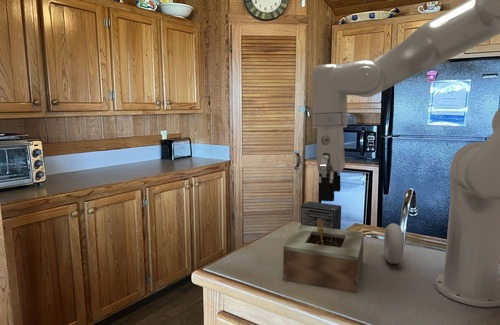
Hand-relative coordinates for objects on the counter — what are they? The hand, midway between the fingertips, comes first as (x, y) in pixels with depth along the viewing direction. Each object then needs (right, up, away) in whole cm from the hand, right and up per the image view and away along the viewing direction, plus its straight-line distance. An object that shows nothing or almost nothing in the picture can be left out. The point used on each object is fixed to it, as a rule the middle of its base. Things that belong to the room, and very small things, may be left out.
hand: (330, 195), depth 83 cm
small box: (+3, -15, +24) cm, 29 cm away
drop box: (-1, -18, +3) cm, 19 cm away
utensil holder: (-1, -19, +3) cm, 19 cm away
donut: (+17, -18, +8) cm, 26 cm away
